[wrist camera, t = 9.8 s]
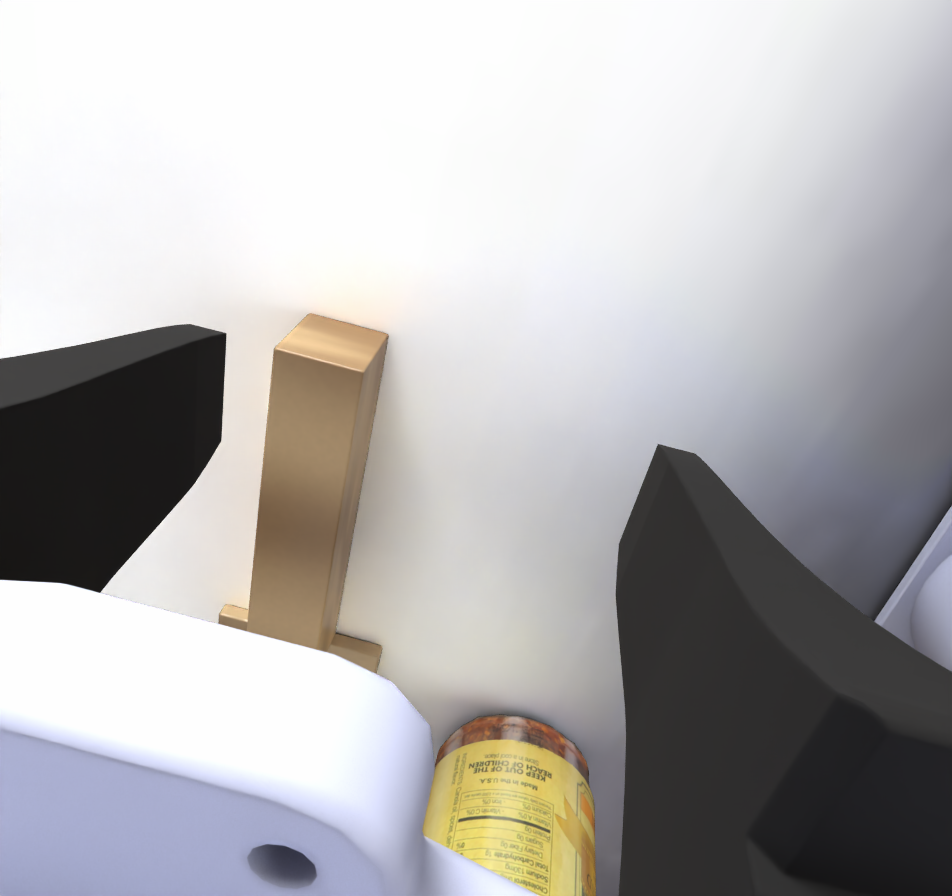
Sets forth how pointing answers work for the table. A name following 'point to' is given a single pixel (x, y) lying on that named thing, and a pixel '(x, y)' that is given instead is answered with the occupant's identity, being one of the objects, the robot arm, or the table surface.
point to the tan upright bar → (313, 485)
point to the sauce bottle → (516, 804)
